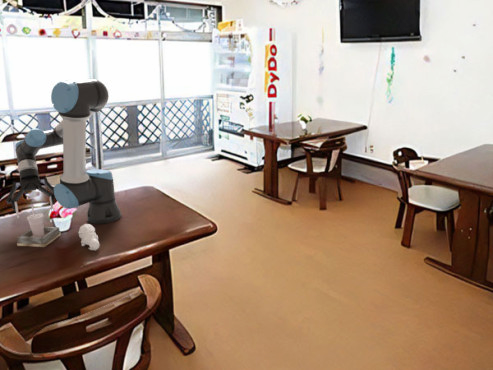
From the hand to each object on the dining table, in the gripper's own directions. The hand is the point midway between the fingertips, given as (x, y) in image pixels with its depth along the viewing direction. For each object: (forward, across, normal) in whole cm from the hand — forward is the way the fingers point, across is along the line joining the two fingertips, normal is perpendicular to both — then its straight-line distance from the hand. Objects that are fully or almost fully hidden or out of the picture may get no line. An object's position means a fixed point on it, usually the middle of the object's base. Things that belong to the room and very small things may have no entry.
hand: (35, 213), depth 182 cm
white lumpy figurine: (+26, -18, +14) cm, 34 cm away
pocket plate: (+13, 0, +2) cm, 13 cm away
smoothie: (+12, 0, +2) cm, 13 cm away
